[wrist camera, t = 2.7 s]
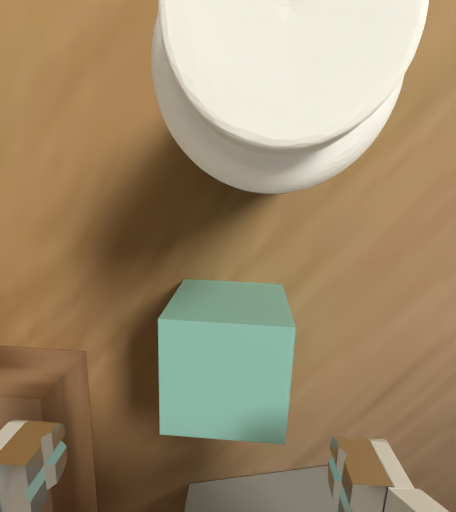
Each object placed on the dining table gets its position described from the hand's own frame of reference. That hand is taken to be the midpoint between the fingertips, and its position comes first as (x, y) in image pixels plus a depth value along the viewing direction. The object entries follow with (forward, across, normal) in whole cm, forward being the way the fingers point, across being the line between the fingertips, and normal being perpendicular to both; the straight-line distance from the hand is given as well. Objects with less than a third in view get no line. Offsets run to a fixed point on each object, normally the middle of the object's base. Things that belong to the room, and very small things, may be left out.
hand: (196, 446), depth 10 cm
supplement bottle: (+8, -2, -10) cm, 13 cm away
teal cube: (+8, -1, 0) cm, 8 cm away
